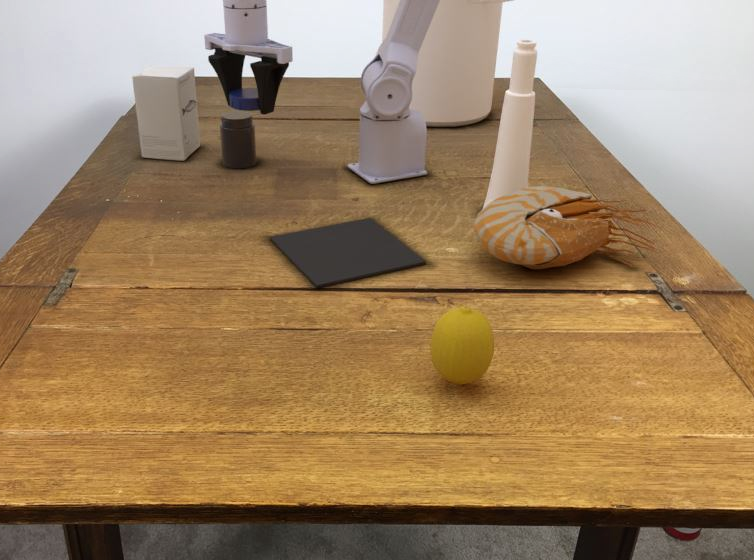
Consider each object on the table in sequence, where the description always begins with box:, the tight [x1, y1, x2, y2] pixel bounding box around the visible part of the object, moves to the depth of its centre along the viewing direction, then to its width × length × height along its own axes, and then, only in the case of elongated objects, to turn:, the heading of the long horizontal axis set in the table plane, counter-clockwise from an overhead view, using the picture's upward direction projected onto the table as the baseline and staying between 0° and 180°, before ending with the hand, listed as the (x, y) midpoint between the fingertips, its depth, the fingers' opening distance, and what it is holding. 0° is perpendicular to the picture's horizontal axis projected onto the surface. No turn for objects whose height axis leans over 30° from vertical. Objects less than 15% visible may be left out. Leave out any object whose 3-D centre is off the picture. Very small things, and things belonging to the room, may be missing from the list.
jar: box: [219, 110, 257, 170], centre depth 119 cm, size 5×5×7 cm
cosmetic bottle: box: [482, 39, 538, 210], centre depth 98 cm, size 6×6×22 cm
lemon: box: [429, 305, 495, 386], centre depth 69 cm, size 6×6×8 cm
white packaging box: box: [131, 64, 201, 162], centre depth 121 cm, size 7×7×13 cm
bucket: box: [381, 0, 514, 128], centre depth 138 cm, size 26×22×25 cm
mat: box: [269, 217, 427, 289], centre depth 94 cm, size 14×14×1 cm
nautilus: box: [473, 185, 661, 270], centre depth 91 cm, size 8×22×15 cm
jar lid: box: [229, 87, 260, 112], centre depth 110 cm, size 6×6×2 cm
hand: (250, 108), depth 111 cm, fingers closed on jar lid, 6 cm apart
